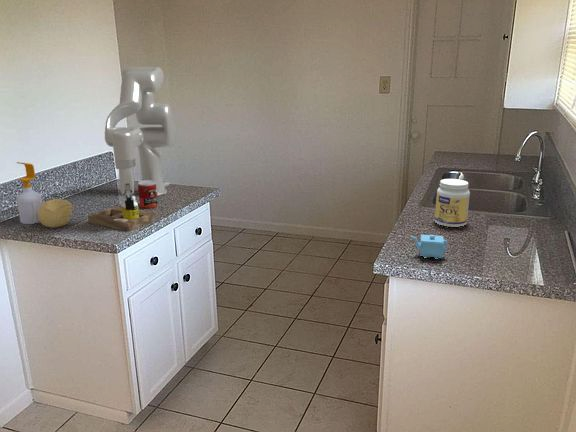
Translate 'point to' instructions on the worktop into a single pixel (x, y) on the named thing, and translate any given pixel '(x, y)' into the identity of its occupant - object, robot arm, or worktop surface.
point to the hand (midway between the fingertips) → (130, 206)
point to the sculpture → (55, 213)
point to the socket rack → (119, 219)
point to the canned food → (147, 194)
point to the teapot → (431, 246)
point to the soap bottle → (29, 198)
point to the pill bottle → (130, 211)
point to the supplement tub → (452, 203)
